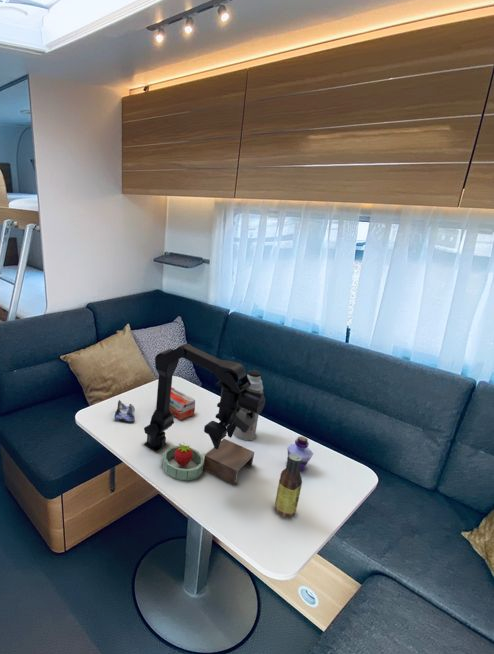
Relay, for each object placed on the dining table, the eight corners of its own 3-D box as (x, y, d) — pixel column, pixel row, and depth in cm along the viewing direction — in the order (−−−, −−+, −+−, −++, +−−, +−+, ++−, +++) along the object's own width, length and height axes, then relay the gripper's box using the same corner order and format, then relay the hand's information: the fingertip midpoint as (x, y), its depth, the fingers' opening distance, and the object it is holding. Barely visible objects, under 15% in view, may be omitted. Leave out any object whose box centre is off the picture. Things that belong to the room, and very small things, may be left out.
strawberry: (169, 467, 145) (171, 444, 141) (182, 458, 150) (184, 435, 146) (182, 475, 141) (185, 451, 138) (195, 466, 146) (198, 442, 143)
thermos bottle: (253, 442, 161) (264, 378, 151) (233, 437, 164) (242, 374, 154) (255, 431, 168) (266, 370, 158) (235, 427, 171) (244, 366, 161)
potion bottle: (283, 470, 145) (289, 442, 141) (284, 456, 153) (289, 429, 149) (310, 477, 142) (317, 448, 138) (309, 462, 150) (315, 434, 146)
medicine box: (194, 415, 179) (196, 399, 176) (181, 421, 174) (183, 404, 171) (170, 401, 190) (171, 386, 187) (157, 406, 185) (158, 390, 183)
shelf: (202, 469, 145) (204, 455, 143) (222, 451, 155) (223, 438, 152) (234, 485, 137) (236, 470, 135) (252, 465, 147) (254, 452, 145)
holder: (154, 467, 145) (155, 458, 143) (177, 450, 155) (177, 441, 153) (188, 486, 136) (189, 476, 135) (209, 466, 146) (210, 457, 145)
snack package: (144, 414, 178) (123, 405, 185) (144, 403, 175) (122, 394, 182) (129, 430, 170) (107, 420, 176) (128, 418, 167) (106, 408, 173)
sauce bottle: (297, 520, 123) (309, 466, 116) (275, 517, 124) (286, 463, 117) (293, 505, 129) (304, 452, 122) (272, 502, 130) (282, 449, 123)
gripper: (239, 422, 119) (232, 466, 124) (265, 400, 132) (258, 441, 137) (205, 408, 125) (200, 451, 131) (234, 388, 139) (228, 428, 144)
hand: (223, 442), depth 136 cm, fingers open, 9 cm apart
